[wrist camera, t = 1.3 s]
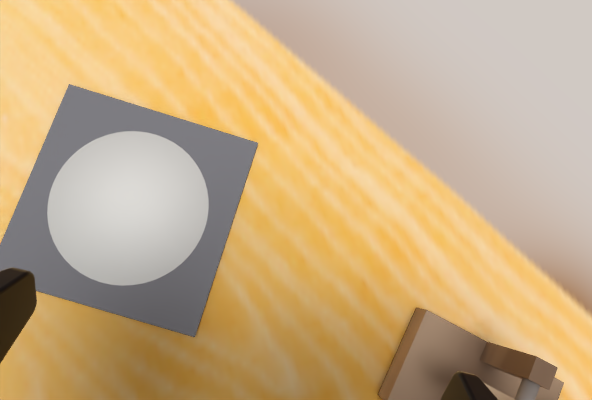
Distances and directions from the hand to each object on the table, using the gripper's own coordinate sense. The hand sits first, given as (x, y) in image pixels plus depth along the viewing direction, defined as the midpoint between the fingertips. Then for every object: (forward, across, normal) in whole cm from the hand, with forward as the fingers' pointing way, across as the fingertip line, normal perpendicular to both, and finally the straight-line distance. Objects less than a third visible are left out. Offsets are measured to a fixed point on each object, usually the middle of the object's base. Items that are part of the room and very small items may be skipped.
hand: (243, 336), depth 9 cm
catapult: (+10, -12, +10) cm, 19 cm away
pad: (+13, +8, +6) cm, 16 cm away
